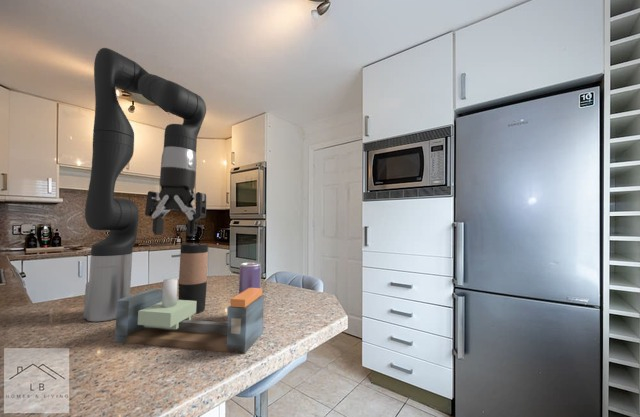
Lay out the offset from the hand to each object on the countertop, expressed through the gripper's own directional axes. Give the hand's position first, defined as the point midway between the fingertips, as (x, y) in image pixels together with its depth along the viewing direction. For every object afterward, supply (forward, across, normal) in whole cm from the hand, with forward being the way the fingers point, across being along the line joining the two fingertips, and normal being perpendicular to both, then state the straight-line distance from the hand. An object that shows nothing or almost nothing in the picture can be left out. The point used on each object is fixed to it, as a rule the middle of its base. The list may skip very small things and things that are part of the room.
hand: (174, 235), depth 62 cm
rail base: (+23, -6, 0) cm, 24 cm away
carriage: (+21, 0, 0) cm, 21 cm away
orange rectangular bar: (+14, -19, +1) cm, 24 cm away
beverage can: (+23, -15, -14) cm, 31 cm away
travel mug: (+24, +4, -16) cm, 29 cm away
